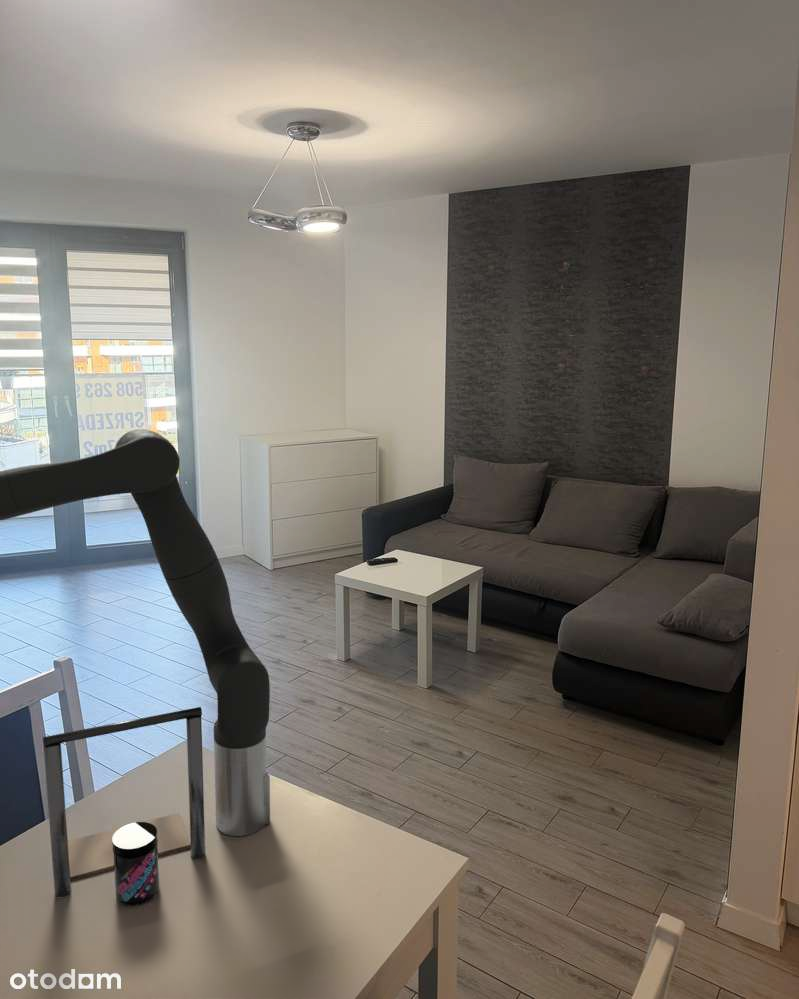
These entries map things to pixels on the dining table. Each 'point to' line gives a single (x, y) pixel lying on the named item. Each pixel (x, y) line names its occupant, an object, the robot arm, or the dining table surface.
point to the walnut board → (98, 848)
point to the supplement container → (136, 863)
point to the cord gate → (54, 741)
